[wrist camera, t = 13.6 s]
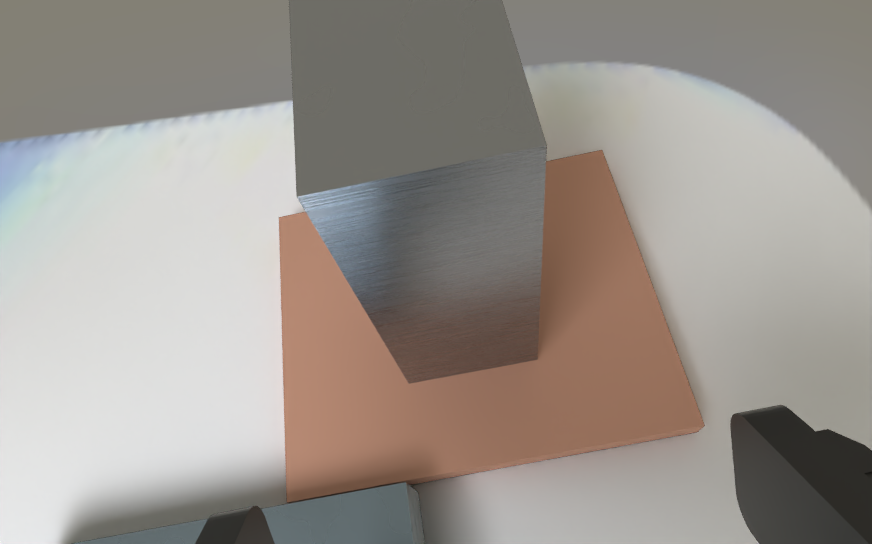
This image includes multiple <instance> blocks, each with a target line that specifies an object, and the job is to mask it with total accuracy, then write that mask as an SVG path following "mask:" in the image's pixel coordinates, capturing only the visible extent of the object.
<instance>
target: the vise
mask: <svg viewBox="0 0 872 544" xmlns="http://www.w3.org/2000/svg"><path fill="white" fill-rule="evenodd" d="M261 510H262V512H263V513H264V516H265V518H266V521H267V524H268V526H269V529H270V532H271V535H272V538H273V541H274V543H275V544H425V540H424V533H423V525H422V517H421V510H420V502H419V494H418V492H417V491H416V490H415V489H414V488H412V487H411V486H410V485H409V484H408V483H406V482H404V483H399V484H393V485H388V486H382V487H377V488H371V489H366V490H361V491H355V492H350V493H344V494H339V495H333V496H328V497H323V498H317V499H312V500H306V501H301V502H295V503H290V504H284V505H279V506H274V507H268V508H263V509H261ZM207 520H208V519H203V520H198V521H192V522H187V523H181V524H176V525H170V526H165V527H160V528H154V529H149V530H143V531H138V532H132V533H127V534H121V535H116V536H111V537H105V538H100V539H94V540H89V541H83V542H78V543H73V544H195V543H196V541H197V539H198V537H199V535H200V533H201V531H202V529H203V527H204V526H205V524H206V522H207Z"/></svg>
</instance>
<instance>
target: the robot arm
mask: <svg viewBox="0 0 872 544" xmlns="http://www.w3.org/2000/svg"><path fill="white" fill-rule="evenodd" d="M731 438H732V450H733V461H734V473H735V485H736V495H737V500H738V503H739V507H740V510H741V513H742V515H743V518H744V520H745V522H746V524H747V526H748V528H749V530H750V531H751V533H752V534H753V536H754V537H755V538H756V540H757V541H758V543H759V544H872V451H871V450H870V449H869V448H868V447H866V446H865V445H863V444H861V443H858V442H856V441H854V440H851V439H849V438H847V437H845V436H842V435H840V434H838V433H835V432H833V431H831V430H828V429H827V430H822V431H816V432H815V431H814V430H813V429H812V428H811V427H810V426H808V425H807V424H806V423H805V422H804V421H803V420H801V419H800V418H799V417H798V416H797V415H796V414H794V413H793V412H792V411H791V410H790V409H788V408H787V407H785V406H783V405H778V406H772V407H767V408H762V409H757V410H752V411H747V412H742V413H737V414H734V415H733V416H732V418H731ZM195 544H275V543H274V541H273V538H272V535H271V532H270V529H269V526H268V524H267V521H266V518H265V516H264V513H263V512H262V510H261V509H260V508H259V507H258V506H253V507H248V508H242V509H237V510H232V511H227V512H222V513H217V514H213V515H211V516H210V517H209V518H208V520H207V522H206V524H205V526H204V527H203V529H202V531H201V533H200V535H199V537H198V539H197V541H196V543H195Z"/></svg>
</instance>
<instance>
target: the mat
mask: <svg viewBox="0 0 872 544" xmlns="http://www.w3.org/2000/svg"><path fill="white" fill-rule="evenodd" d="M279 236H280V273H281V310H282V347H283V384H284V421H285V458H286V494H287V503H295V502H301V501H306V500H312V499H317V498H323V497H328V496H333V495H339V494H344V493H350V492H355V491H361V490H366V489H371V488H377V487H382V486H388V485H393V484H399V483H404V482H406V483H408V484H409V485H412V484H418V483H423V482H428V481H434V480H439V479H445V478H450V477H456V476H461V475H467V474H472V473H477V472H483V471H488V470H494V469H499V468H505V467H510V466H516V465H521V464H526V463H532V462H537V461H543V460H548V459H554V458H559V457H564V456H570V455H575V454H581V453H586V452H592V451H597V450H603V449H608V448H613V447H619V446H624V445H630V444H635V443H641V442H646V441H652V440H657V439H662V438H668V437H673V436H679V435H684V434H690V433H695V432H698V431H699V430H700V429H701V428H703V427H704V426H705V425H704V422H703V420H702V417H701V414H700V411H699V409H698V406H697V403H696V401H695V398H694V395H693V393H692V390H691V387H690V385H689V382H688V379H687V377H686V374H685V371H684V369H683V366H682V363H681V360H680V358H679V355H678V352H677V350H676V347H675V344H674V342H673V339H672V336H671V334H670V331H669V328H668V326H667V323H666V320H665V318H664V315H663V312H662V310H661V307H660V304H659V301H658V299H657V296H656V293H655V291H654V288H653V285H652V283H651V280H650V277H649V275H648V272H647V269H646V267H645V264H644V261H643V259H642V256H641V253H640V250H639V248H638V245H637V242H636V240H635V237H634V234H633V232H632V229H631V226H630V224H629V221H628V218H627V216H626V213H625V210H624V208H623V205H622V202H621V200H620V197H619V194H618V191H617V189H616V186H615V183H614V181H613V178H612V175H611V173H610V170H609V167H608V165H607V162H606V159H605V157H604V154H603V151H602V150H599V151H594V152H589V153H585V154H580V155H575V156H570V157H566V158H561V159H556V160H551V161H546V173H545V197H544V221H543V245H542V269H541V293H540V317H539V341H538V360H534V361H528V362H523V363H518V364H512V365H507V366H502V367H496V368H491V369H486V370H480V371H475V372H470V373H464V374H459V375H454V376H448V377H443V378H438V379H432V380H427V381H422V382H416V383H411V384H409V383H408V382H407V380H406V378H405V377H404V375H403V373H402V372H401V370H400V368H399V367H398V365H397V363H396V362H395V360H394V358H393V357H392V355H391V353H390V352H389V350H388V348H387V347H386V345H385V343H384V342H383V340H382V338H381V337H380V335H379V333H378V332H377V330H376V328H375V327H374V325H373V323H372V322H371V320H370V318H369V317H368V315H367V313H366V312H365V310H364V308H363V307H362V305H361V303H360V302H359V300H358V298H357V297H356V295H355V293H354V292H353V290H352V288H351V287H350V285H349V283H348V281H347V280H346V278H345V276H344V275H343V273H342V271H341V270H340V268H339V266H338V265H337V263H336V261H335V260H334V258H333V256H332V255H331V253H330V251H329V250H328V248H327V246H326V245H325V243H324V241H323V240H322V238H321V236H320V235H319V233H318V231H317V230H316V228H315V226H314V225H313V223H312V221H311V220H310V218H309V216H308V215H307V213H306V212H302V213H298V214H293V215H288V216H283V217H279Z"/></svg>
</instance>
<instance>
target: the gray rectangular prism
mask: <svg viewBox="0 0 872 544" xmlns="http://www.w3.org/2000/svg"><path fill="white" fill-rule="evenodd" d="M289 13H290V36H291V37H290V38H291V63H292V89H293V114H294V140H295V165H296V190H297V198H298V200H299V201H300V203H301V205H302V206H303V208H304V210H305V211H306V213H307V215H308V216H309V218H310V220H311V221H312V223H313V225H314V226H315V228H316V230H317V231H318V233H319V235H320V236H321V238H322V240H323V241H324V243H325V245H326V246H327V248H328V250H329V251H330V253H331V255H332V256H333V258H334V260H335V261H336V263H337V265H338V266H339V268H340V270H341V271H342V273H343V275H344V276H345V278H346V280H347V281H348V283H349V285H350V287H351V288H352V290H353V292H354V293H355V295H356V297H357V298H358V300H359V302H360V303H361V305H362V307H363V308H364V310H365V312H366V313H367V315H368V317H369V318H370V320H371V322H372V323H373V325H374V327H375V328H376V330H377V332H378V333H379V335H380V337H381V338H382V340H383V342H384V343H385V345H386V347H387V348H388V350H389V352H390V353H391V355H392V357H393V358H394V360H395V362H396V363H397V365H398V367H399V368H400V370H401V372H402V373H403V375H404V377H405V378H406V380H407V382H408V383H409V384H411V383H416V382H422V381H427V380H432V379H438V378H443V377H448V376H454V375H459V374H464V373H470V372H475V371H480V370H486V369H491V368H496V367H502V366H507V365H512V364H518V363H523V362H528V361H534V360H538V341H539V317H540V293H541V269H542V245H543V221H544V197H545V173H546V149H547V145H546V142H545V138H544V135H543V132H542V129H541V125H540V122H539V119H538V116H537V112H536V109H535V106H534V103H533V99H532V96H531V93H530V90H529V86H528V83H527V80H526V77H525V73H524V70H523V67H522V64H521V61H520V57H519V54H518V51H517V48H516V44H515V41H514V38H513V35H512V32H511V28H510V25H509V22H508V18H507V15H506V12H505V9H504V6H503V2H502V0H289Z"/></svg>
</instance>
